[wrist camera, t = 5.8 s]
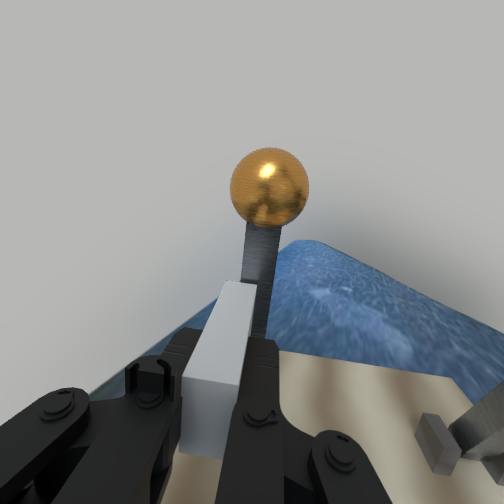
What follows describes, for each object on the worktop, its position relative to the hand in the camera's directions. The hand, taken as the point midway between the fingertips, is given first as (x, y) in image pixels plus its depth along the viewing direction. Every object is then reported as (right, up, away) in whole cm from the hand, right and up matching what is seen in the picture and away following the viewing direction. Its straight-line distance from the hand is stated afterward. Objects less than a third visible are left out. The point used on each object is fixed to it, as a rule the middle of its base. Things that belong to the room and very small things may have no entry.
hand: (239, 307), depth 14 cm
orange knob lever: (0, -7, +4) cm, 8 cm away
